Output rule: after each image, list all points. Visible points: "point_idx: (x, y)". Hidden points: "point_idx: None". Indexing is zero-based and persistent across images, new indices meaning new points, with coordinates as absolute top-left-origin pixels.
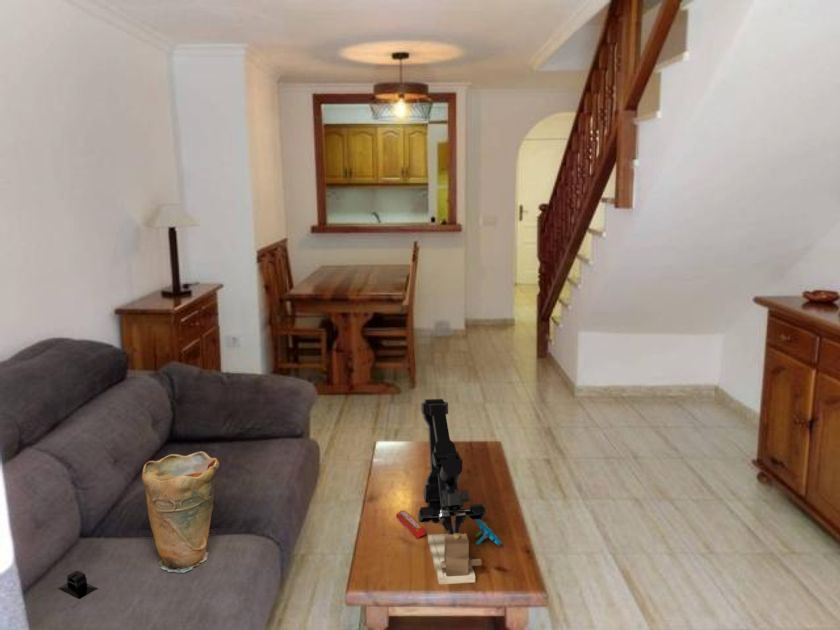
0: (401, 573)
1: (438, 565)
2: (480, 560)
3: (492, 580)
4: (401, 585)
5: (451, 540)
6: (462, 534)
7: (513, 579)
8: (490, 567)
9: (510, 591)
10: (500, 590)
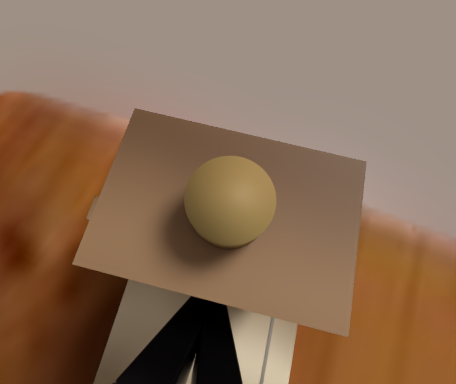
0: (442, 379)
1: (283, 333)
2: (95, 204)
3: (97, 189)
4: (452, 285)
5: (305, 182)
6: (122, 264)
7: (22, 167)
8: (47, 275)
9: (80, 113)
10: (107, 128)
